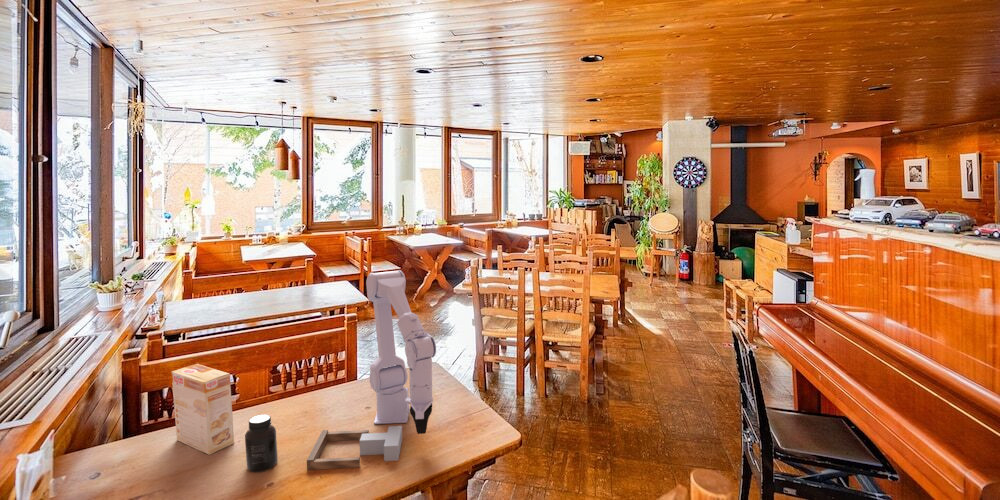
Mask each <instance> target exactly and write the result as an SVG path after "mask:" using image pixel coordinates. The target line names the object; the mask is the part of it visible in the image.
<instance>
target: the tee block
mask: <svg viewBox="0 0 1000 500" xmlns="http://www.w3.org/2000/svg"><path fill="white" fill-rule="evenodd" d="M402 443H403V426H402V425H393V426H392V425H391V426H388V428H387V432H369V433H365V434H362V435H361V438H360V440H359V456H372V455H375V456H376V455H383V461H384V462H391V461H393V462H394V461H396V462H397V461H399V460H400V454H401V449H402Z"/></svg>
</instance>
